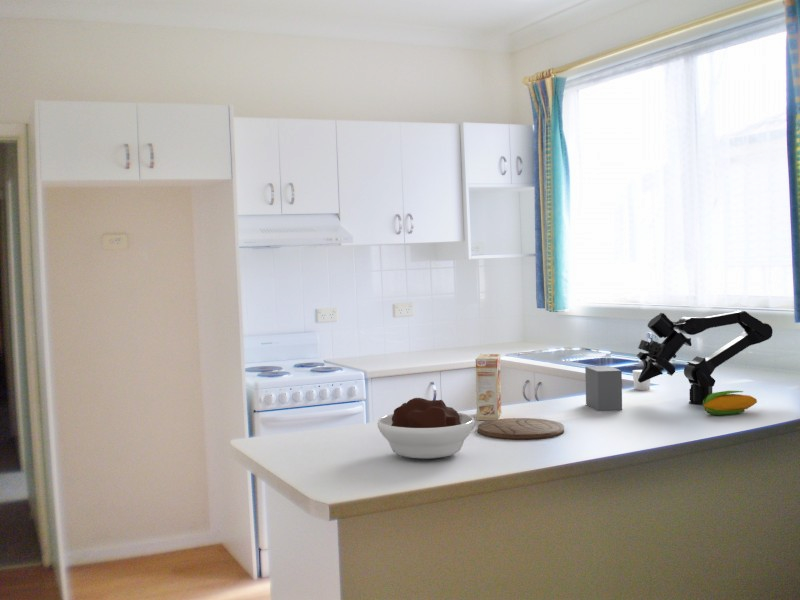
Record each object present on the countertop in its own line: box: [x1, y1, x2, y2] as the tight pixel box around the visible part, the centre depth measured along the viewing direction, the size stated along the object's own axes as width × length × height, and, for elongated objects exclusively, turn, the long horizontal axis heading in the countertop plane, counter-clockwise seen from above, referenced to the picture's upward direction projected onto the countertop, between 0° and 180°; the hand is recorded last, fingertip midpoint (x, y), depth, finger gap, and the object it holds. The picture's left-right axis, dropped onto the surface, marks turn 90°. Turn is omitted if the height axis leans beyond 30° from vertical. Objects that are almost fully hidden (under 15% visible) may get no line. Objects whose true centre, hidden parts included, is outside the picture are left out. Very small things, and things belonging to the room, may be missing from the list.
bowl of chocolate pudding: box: [377, 397, 476, 460], centre depth 213 cm, size 25×25×15 cm
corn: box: [702, 390, 758, 416], centre depth 260 cm, size 7×8×20 cm
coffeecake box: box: [475, 353, 502, 421], centre depth 266 cm, size 15×7×20 cm, turn 168°
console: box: [584, 365, 623, 412], centre depth 277 cm, size 8×13×13 cm, turn 5°
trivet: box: [477, 417, 565, 441], centre depth 241 cm, size 25×25×2 cm
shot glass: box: [632, 369, 651, 391], centre depth 315 cm, size 7×7×7 cm
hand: (639, 381), depth 278 cm, fingers closed
